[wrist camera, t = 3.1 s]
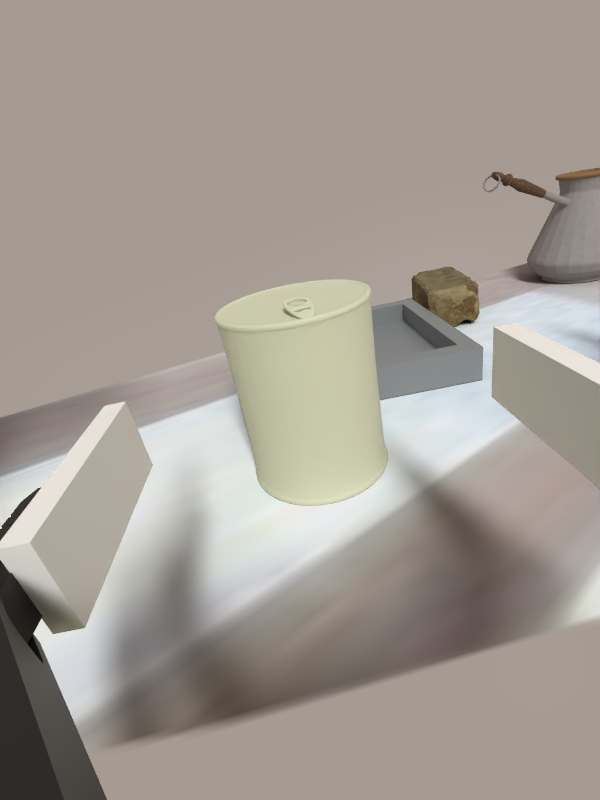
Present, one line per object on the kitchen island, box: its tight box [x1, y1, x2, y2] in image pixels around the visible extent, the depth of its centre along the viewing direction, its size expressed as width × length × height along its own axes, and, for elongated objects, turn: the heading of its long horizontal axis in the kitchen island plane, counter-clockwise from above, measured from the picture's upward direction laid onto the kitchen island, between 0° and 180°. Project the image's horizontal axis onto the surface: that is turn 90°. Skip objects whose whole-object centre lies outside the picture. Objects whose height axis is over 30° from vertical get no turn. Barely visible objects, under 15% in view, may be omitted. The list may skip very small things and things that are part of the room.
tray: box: [371, 299, 483, 400], centre depth 43 cm, size 20×18×3 cm
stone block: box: [412, 267, 479, 326], centre depth 51 cm, size 6×12×5 cm, turn 178°
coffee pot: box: [483, 168, 600, 283], centre depth 52 cm, size 21×12×15 cm, turn 113°
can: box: [215, 280, 388, 506], centre depth 26 cm, size 9×9×12 cm
